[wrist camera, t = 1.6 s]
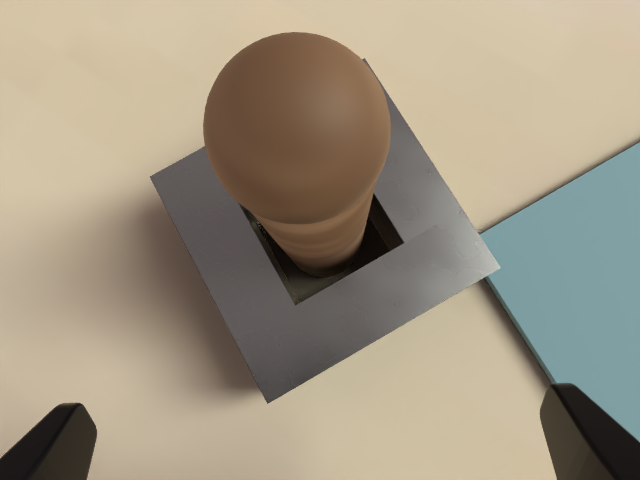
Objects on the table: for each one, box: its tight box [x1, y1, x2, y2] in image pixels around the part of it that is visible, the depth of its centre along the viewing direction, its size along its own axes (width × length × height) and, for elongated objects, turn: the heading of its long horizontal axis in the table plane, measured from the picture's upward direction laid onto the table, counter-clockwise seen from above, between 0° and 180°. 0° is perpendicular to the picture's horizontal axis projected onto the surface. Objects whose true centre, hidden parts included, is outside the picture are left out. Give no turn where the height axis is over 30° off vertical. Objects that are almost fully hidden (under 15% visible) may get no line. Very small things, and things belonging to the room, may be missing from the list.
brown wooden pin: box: [203, 32, 391, 277], centre depth 15 cm, size 4×4×14 cm
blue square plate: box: [480, 142, 640, 442], centre depth 21 cm, size 11×11×1 cm
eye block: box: [150, 58, 501, 404], centre depth 20 cm, size 10×10×4 cm
